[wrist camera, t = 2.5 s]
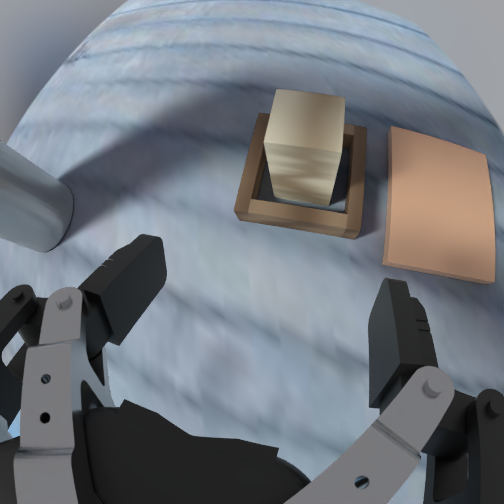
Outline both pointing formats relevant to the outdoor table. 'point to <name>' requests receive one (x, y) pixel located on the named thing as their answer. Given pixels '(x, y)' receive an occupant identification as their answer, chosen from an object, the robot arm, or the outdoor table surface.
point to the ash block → (304, 145)
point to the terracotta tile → (438, 208)
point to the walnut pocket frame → (297, 215)
